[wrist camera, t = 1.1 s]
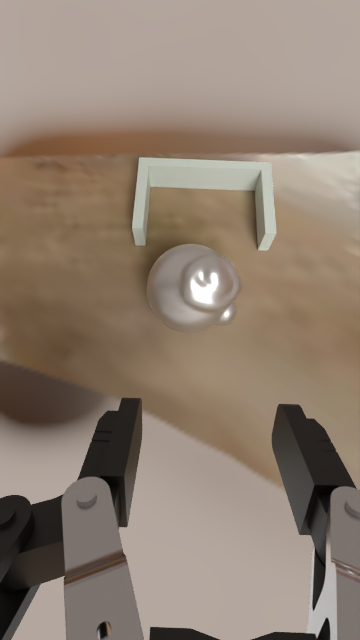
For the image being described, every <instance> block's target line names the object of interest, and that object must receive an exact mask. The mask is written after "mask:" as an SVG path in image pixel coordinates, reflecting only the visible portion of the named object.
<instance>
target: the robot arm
mask: <svg viewBox="0 0 360 640" xmlns="http://www.w3.org/2000/svg"><path fill="white" fill-rule="evenodd" d="M141 440H142V401H141V398H122V400H121V403H120V406H119V410H118V411H107V412H106V413H105V414H104V415H103V416H102V417H101V418H100V419H99V421H98V424H97V427H96V430H95V433H94V435H93V438H92V442H91V444H90V447H89V449H88V452H87V455H86V458H85V460H84V463H83V466H82V469H81V472H80V475H79V477H78V479H77V481H76V482H74V483H73V484H71V485H70V486H69V487H68V488H67V490H66V491H65V493H64V494H63V495H61V496H59V497H57V498H54V499H51V500H47V501H43V502H39V503H36V504H32V505H31V504H30V502H29V501H28V500H27V499H26V498H25V497H23V496H19V495H11V496H6V497H3V498H0V640H11V639H12V637H13V635H14V633H15V631H16V629H17V627H18V626H19V624H20V622H21V620H22V618H23V616H24V614H25V612H26V610H27V608H28V607H29V605H30V603H31V601H32V599H33V597H34V596H35V594H36V592H37V590H38V588H39V586H40V584H41V583H44V582H47V581H50V580H53V579H56V578H59V577H62V576H65V577H64V599H65V600H64V601H65V620H66V640H144V637H143V633H142V628H141V623H140V619H139V614H138V610H137V605H136V600H135V595H134V591H133V586H132V582H131V577H130V572H129V568H128V563H127V560H126V556H125V554H124V553H123V549H122V544H121V540H120V535H119V527H127V526H128V520H129V514H130V508H131V502H132V495H133V490H134V484H135V478H136V471H137V466H138V460H139V453H140V447H141ZM272 447H273V451H274V455H275V458H276V461H277V464H278V467H279V471H280V474H281V477H282V480H283V484H284V487H285V490H286V493H287V496H288V500H289V503H290V506H291V509H292V512H293V515H294V519H295V522H296V525H297V528H298V531H299V534H300V535H311V537H312V539H313V542H314V547H313V550H312V558H311V577H310V598H309V616H308V624H307V629H306V633H289V632H273V633H270V634H267V635H264V636H261V637H258V638H255V639H252V640H360V490H358V489H357V488H356V486H355V485H354V483H353V481H352V479H351V477H350V475H349V473H348V472H347V470H346V468H345V466H344V464H343V462H342V460H341V459H340V457H339V455H338V453H337V452H336V449H335V447H334V446H333V444H332V443H331V440H330V438H329V436H328V434H327V433H326V431H325V429H324V428H323V427H322V426H321V425H320V424H319V423H318V422H317V421H316V420H315V419H307V418H306V416H305V414H304V412H303V410H302V408H301V406H300V405H295V404H279V405H278V407H277V412H276V417H275V422H274V427H273V432H272ZM150 640H219V639H216V638H214V637H211V636H209V635H206V634H204V633H201V632H198V631H196V630H193V629H187V628H162V627H161V628H160V627H151V628H150Z"/></svg>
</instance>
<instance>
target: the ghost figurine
mask: <svg viewBox="0 0 360 640" xmlns="http://www.w3.org/2000/svg"><path fill="white" fill-rule="evenodd" d="M241 289H242V280H241V277H240V276H239V274H238V272H237V269H236V267H235V266H234V264H233V263H232V262H231V261H230V260H228V259H227V258H225V257H222V256H221V255H220V254H219V253H218V252H216V251H215V250H213V249H211V248H209V247H207V246H204V245H199V244H183V245H179V246H176V247H173V248H171V249H169V250H168V251H166V252H165V253H164V254H162V255H161V256H160V257H159V258H158V259H157V261H156V262H155V263H154V265H153V266H152V268H151V270H150V273H149V276H148V280H147V297H148V301H149V304H150V307H151V309H152V311H153V312H154V314H155V315H156V316H157V318H158V319H159V320H160V321H161V322H162V323H164V324H165V325H166V326H168V327H170V328H172V329H174V330H176V331H180V332H184V333H198V332H202V331H206V330H208V329H210V328H212V327H214V326H217V325H221V326H223V325H227V324H229V323H231V322H232V320H233V319H234V317H235V315H236V312H237V307H236V305H235V302H234V300H235V299H236V297H237V295H238V294H239V293H240V291H241Z"/></svg>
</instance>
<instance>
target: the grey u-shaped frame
mask: <svg viewBox="0 0 360 640" xmlns="http://www.w3.org/2000/svg"><path fill="white" fill-rule="evenodd" d="M151 187H170V188H196V189H222V190H248V191H255V205H256V224H257V243H258V250H264V251H268V249H269V247H270V245H271V243H272V241H273V239H274V237H275V235H276V223H275V210H274V197H273V184H272V171H271V162H246V161H220V160H194V159H167V158H141V157H139V166H138V175H137V184H136V194H135V203H134V213H133V222H132V231H133V235H134V240H135V245H136V246H146V235H147V223H148V212H149V200H150V189H151Z"/></svg>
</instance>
